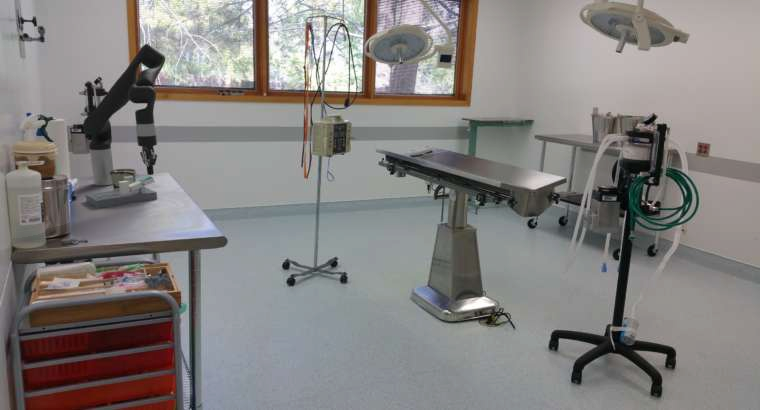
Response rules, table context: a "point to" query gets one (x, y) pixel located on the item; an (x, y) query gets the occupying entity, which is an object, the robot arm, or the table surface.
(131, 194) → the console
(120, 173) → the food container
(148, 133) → the robot arm
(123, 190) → the white slider
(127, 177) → the grey slider
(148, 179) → the rocker
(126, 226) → the table surface
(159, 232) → the table surface
